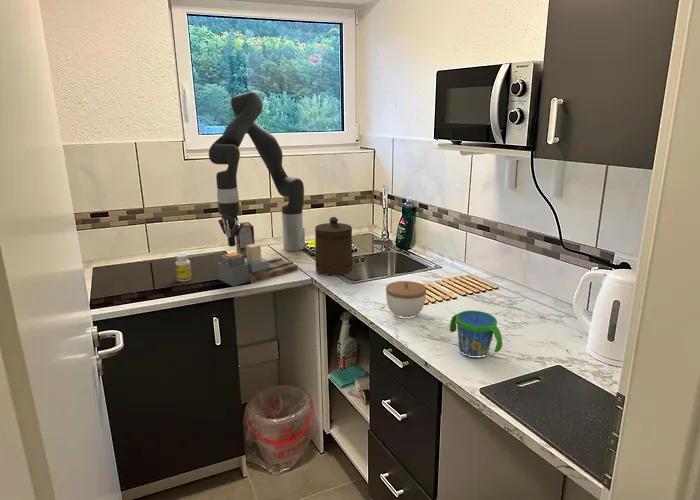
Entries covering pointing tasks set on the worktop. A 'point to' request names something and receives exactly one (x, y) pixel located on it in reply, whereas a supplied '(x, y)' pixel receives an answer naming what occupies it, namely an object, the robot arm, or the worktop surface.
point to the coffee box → (244, 238)
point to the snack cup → (476, 332)
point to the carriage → (255, 258)
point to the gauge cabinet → (233, 270)
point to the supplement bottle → (183, 268)
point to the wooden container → (333, 248)
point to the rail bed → (273, 270)
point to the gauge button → (232, 255)
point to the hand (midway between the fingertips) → (231, 246)
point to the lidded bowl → (405, 298)
